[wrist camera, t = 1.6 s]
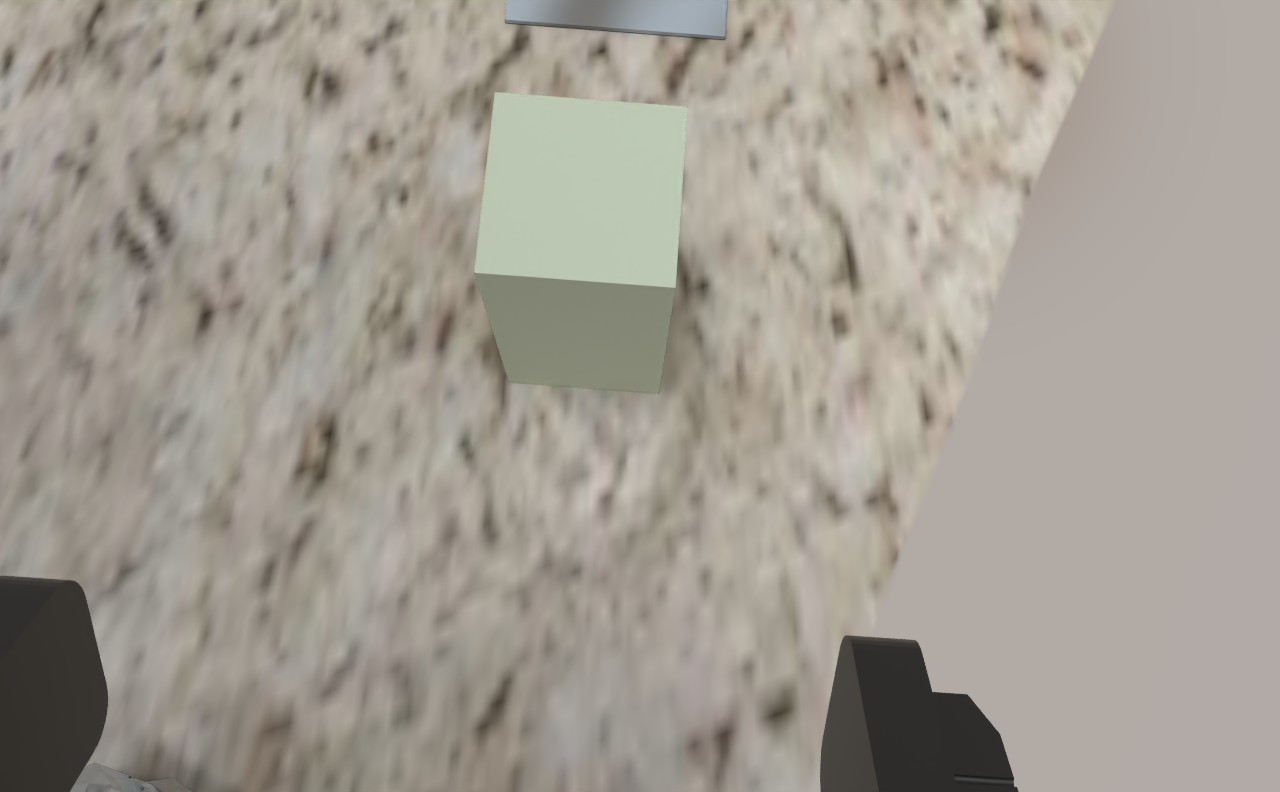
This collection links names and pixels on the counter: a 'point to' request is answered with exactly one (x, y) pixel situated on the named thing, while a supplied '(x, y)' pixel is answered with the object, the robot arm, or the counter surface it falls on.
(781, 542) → the counter surface
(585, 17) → the dock
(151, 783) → the grey scalloped block
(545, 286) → the green block
